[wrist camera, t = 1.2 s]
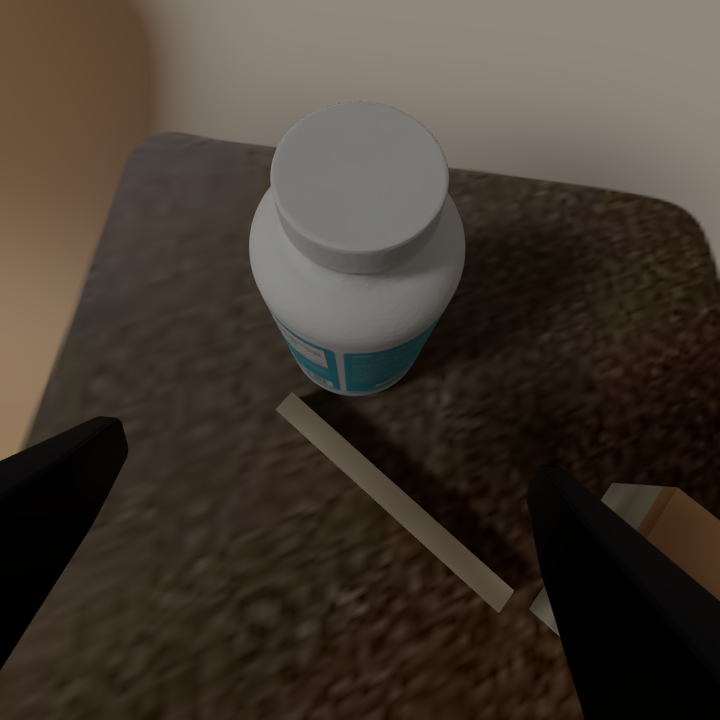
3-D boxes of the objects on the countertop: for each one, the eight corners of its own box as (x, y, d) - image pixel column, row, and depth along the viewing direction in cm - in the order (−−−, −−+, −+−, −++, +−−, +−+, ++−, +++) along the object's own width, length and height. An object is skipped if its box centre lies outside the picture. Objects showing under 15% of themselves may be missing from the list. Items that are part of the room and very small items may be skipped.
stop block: (596, 669, 19) (667, 727, 15) (529, 609, 20) (578, 648, 16) (676, 534, 21) (760, 552, 17) (612, 482, 21) (677, 487, 17)
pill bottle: (423, 287, 24) (511, 78, 11) (411, 406, 22) (503, 324, 9) (301, 271, 24) (247, 43, 11) (280, 389, 22) (184, 283, 9)
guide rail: (484, 598, 20) (499, 613, 18) (281, 414, 22) (275, 409, 20) (498, 578, 20) (514, 590, 18) (296, 398, 22) (291, 391, 20)
